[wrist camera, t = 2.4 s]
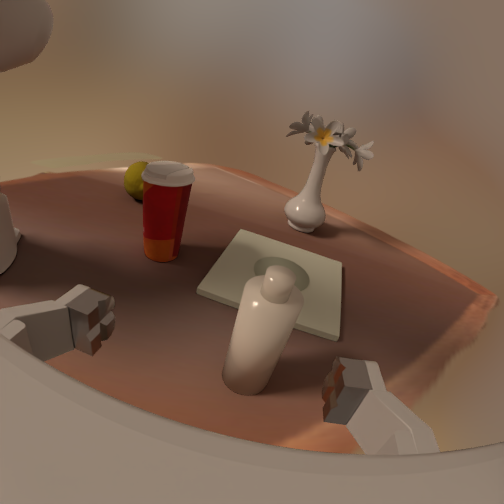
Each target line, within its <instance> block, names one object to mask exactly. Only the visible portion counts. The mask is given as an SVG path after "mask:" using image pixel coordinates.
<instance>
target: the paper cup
mask: <svg viewBox="0 0 504 504" xmlns="http://www.w3.org/2000/svg"><path fill="white" fill-rule="evenodd" d="M141 177H142V179H143V236H144V252H145V255H146V256H147V257H148V258H149V259H151V260H153V261H157V262H168V261H172V260H174V259H175V258H176V257H177V256H178V253H179V248H180V243H181V237H182V232H183V227H184V221H185V216H186V211H187V206H188V201H189V196H190V191H191V186H192V183H193V182H194V181H195V177H194V175H193V169H192V168H190V167H188V166H186V165H184V164H182V163H179V162H173V161H156V162H151V163H149V164H147V165H146V168H145V170H144V171H143V173H142V174H141Z"/></svg>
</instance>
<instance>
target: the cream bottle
mask: <svg viewBox="0 0 504 504" xmlns="http://www.w3.org/2000/svg"><path fill="white" fill-rule="evenodd" d="M295 281H296V275H295V274H294V272H293V271H291V270H290V269H288V268H286V267H283V266H279V265H273V266H270V267H268V268H267V270H266V274H265V275H260V276H256V277H253V278H251V279H250V280H248V281H247V283H246V284H245V287H244V291H243V295H242V299H241V303H240V306H239V310H238V314H237V318H236V321H235V325H234V329H233V333H232V336H231V340H230V344H229V348H228V352H227V355H226V359H225V363H224V367H223V370H222V378H223V381H224V383H225V385H226V386H227V387H228V388H229V389H230V390H232V391H233V392H235V393H237V394H240V395H255V394H257V393H259V392H261V391H262V390H263V389H264V388H265V387H266V385H267V383H268V381H269V379H270V377H271V375H272V373H273V370H274V368H275V366H276V364H277V362H278V360H279V358H280V356H281V354H282V352H283V349H284V347H285V345H286V343H287V341H288V339H289V336H290V334H291V332H292V330H293V328H294V325H295V323H296V321H297V319H298V316H299V314H300V312H301V310H302V307H303V305H304V298H303V295H302V293H301V292H300V290H299V289H298V288H297V287H296V286H295V285H294V284H295Z"/></svg>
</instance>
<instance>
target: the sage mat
mask: <svg viewBox="0 0 504 504" xmlns="http://www.w3.org/2000/svg"><path fill="white" fill-rule="evenodd" d="M273 265H279V266H283V267H286V268H288V269H290V270H291V271H293V272H294V274H295V275H296V281H295V284H294V285H295V286H296V287H297V288H298V289H299V290H300V292H301V293H302V295H303V298H304V305H303V307H302V310H301V312H300V314H299V316H298V319H297V321H296V323H295V325H294V328H295V329H298V330H301V331H304V332H307V333H310V334H313V335H316V336H320V337H323V338H326V339H329V340H333V341H336V342H337V340H338V338H339V335H340V315H341V283H342V263H341V262H338V261H335V260H332V259H329V258H326V257H323V256H320V255H318V254H315V253H312V252H309V251H306V250H303V249H300V248H297V247H294V246H291V245H288V244H285V243H282V242H279V241H276V240H273V239H270V238H267V237H264V236H261V235H258V234H255V233H252V232H249V231H246V230H243V229H240V231H239V232H238V233H237V235H236V236H235V237H234V239H233V240H232V241H231V243H230V244H229V245H228V247H227V248H226V249H225V251H224V252H223V253H222V255H221V256H220V257H219V259H218V260H217V261H216V263H215V264H214V265H213V267H212V268H211V270H210V271H209V272H208V274H207V275H206V276H205V278H204V279H203V280H202V282H201V283H200V284H199V286H198V287H197V292H196V294H199V295H202V296H204V297H207V298H210V299H212V300H215V301H218V302H220V303H223V304H226V305H228V306H231V307H234V308H237V309H239V306H240V303H241V299H242V295H243V291H244V287H245V284H246V283H247V281H248V280H250V279H251V278H253V277H256V276H260V275H265V274H266V270H267V268H268V267H270V266H273Z"/></svg>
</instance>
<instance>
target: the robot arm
mask: <svg viewBox="0 0 504 504" xmlns="http://www.w3.org/2000/svg"><path fill="white" fill-rule="evenodd" d="M52 28H53V14H52V10H51V8H50V6H49V5H48V3H47V2H46V1H45V0H0V72H5V71H7V70H10V69H13V68H16V67H19V66H22V65H24V64H28V63H31V62H32V61H34V60H35V59H36V58H37V57H38V56H39V54H40V53H41V52H42V51H43V49H44V48H45V46H46V44H47V43H48V40H49V38H50V35H51V32H52ZM20 237H21V233H20V230H19V229H17V228H14V226H13V222H12V217H11V213H10V208H9V204H8V199H7V196H6V195H4V194H3V193H1V192H0V274H1V273H3V272H4V271H5V270H6V269H7V268H8V267H9V266H10V265H11V263H12V262H13V260H14V259H15V256H16V253H17V242H18V241H19V239H20ZM114 307H115V302H114V298H113V297H112V296H110V295H108V294H105V293H103V292H100V291H98V290H95V289H93V288H90V287H87V286H85V285H82V284H78V285H77V286H75V287H74V288H73V289H71V290H70V291H68V292H67V293H66V294H64V295H63V296H61V297H60V298H59V299H57V300H56V301H53V300H49V301H43V302H38V303H32V304H26V305H21V306H15V307H9V308H3V309H1V310H0V504H504V442H500V443H497V444H492V445H487V446H481V447H476V448H469V449H462V450H455V451H446V452H440V450H439V448H438V445H437V442H436V439H435V436H434V433H433V431H432V429H431V428H430V427H429V426H428V425H427V424H426V423H424V422H423V421H422V420H421V419H420V418H419V417H418V416H416V414H414V413H413V412H412V411H411V410H410V409H409V408H408V407H407V406H405V405H404V404H403V403H402V402H401V401H400V400H399V399H398V398H397V397H395V396H394V395H393V394H392V393H391V392H387V391H386V387H385V384H384V381H383V378H382V375H381V372H380V369H379V366H378V363H377V362H375V361H367V360H357V359H350V358H344V357H338V356H337V357H336V358H335V359H334V361H333V363H332V372H330V373H328V374H327V376H326V378H325V380H324V384H323V387H322V399H323V400H324V402H325V404H324V406H323V420H324V422H329V423H336V424H343V425H346V427H347V428H348V430H349V431H350V433H351V434H352V435H353V437H354V438H355V440H356V441H357V443H358V444H359V445H360V447H361V448H362V450H363V451H364V452H365V454H366V455H361V454H342V453H328V452H318V451H309V450H301V449H293V448H287V447H280V446H274V445H269V444H263V443H258V442H253V441H248V440H244V439H239V438H235V437H231V436H226V435H222V434H219V433H215V432H211V431H207V430H204V429H200V428H197V427H193V426H190V425H187V424H183V423H180V422H177V421H174V420H171V419H168V418H165V417H162V416H159V415H157V414H154V413H151V412H148V411H146V410H143V409H141V408H138V407H135V406H133V405H130V404H128V403H126V402H123V401H121V400H118V399H116V398H114V397H112V396H109V395H107V394H105V393H103V392H100V391H98V390H96V389H94V388H92V387H90V386H88V385H86V384H84V383H82V382H80V381H78V380H76V379H74V378H72V377H70V376H68V375H66V374H65V373H63V372H61V371H59V370H57V369H55V368H54V367H52V366H50V365H48V364H47V363H45V362H44V361H46V360H49V359H51V358H54V357H56V356H59V355H61V354H64V353H66V352H69V351H71V350H74V348H75V349H77V350H79V351H82V352H84V353H86V354H89V355H91V356H93V355H94V354H95V353H96V352H97V351H98V350H99V348H100V347H101V346H102V345H101V341H104V340H107V339H108V338H109V337H110V336H111V335H112V332H113V330H114V327H115V316H114V314H113V312H112V309H113V308H114Z"/></svg>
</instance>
